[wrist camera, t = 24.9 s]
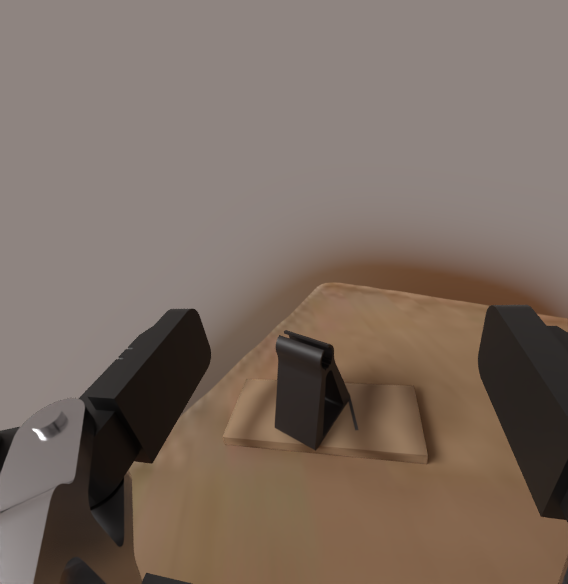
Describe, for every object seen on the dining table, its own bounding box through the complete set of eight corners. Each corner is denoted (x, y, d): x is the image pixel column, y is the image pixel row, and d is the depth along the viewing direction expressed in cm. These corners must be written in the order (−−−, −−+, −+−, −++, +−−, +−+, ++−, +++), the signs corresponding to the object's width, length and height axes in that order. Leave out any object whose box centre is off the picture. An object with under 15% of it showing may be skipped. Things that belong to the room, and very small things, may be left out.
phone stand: (312, 382, 46) (303, 313, 40) (350, 398, 42) (346, 325, 36) (274, 429, 40) (256, 355, 34) (315, 452, 36) (302, 375, 30)
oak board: (413, 393, 43) (413, 385, 42) (426, 463, 35) (427, 455, 34) (248, 386, 49) (246, 378, 48) (225, 444, 41) (222, 436, 40)
